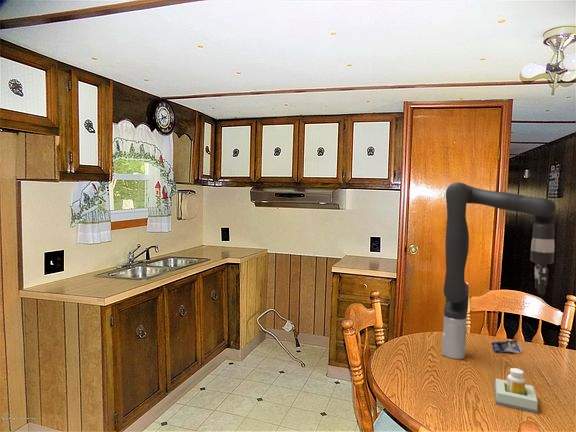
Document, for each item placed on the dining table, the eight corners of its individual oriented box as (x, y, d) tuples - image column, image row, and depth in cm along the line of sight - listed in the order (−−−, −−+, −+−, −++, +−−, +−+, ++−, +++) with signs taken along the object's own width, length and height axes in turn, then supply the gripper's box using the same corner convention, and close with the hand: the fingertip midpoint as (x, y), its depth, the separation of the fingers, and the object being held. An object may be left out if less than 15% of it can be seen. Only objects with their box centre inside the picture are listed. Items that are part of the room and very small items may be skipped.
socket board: (496, 404, 131) (496, 393, 131) (493, 382, 146) (494, 372, 146) (538, 413, 126) (538, 401, 126) (531, 389, 141) (531, 379, 141)
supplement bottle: (502, 395, 135) (504, 368, 134) (512, 392, 137) (514, 365, 137) (517, 403, 130) (519, 375, 130) (527, 399, 133) (529, 372, 132)
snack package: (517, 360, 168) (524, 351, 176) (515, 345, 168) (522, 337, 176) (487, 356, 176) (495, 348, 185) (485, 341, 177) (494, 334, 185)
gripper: (528, 247, 158) (526, 286, 159) (533, 251, 146) (531, 294, 147) (550, 248, 155) (548, 288, 156) (557, 253, 142) (554, 297, 143)
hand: (540, 291), depth 151 cm, fingers open, 8 cm apart
